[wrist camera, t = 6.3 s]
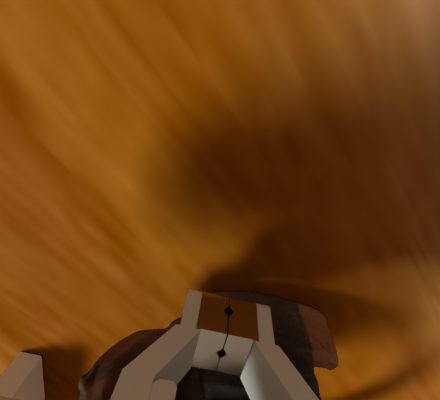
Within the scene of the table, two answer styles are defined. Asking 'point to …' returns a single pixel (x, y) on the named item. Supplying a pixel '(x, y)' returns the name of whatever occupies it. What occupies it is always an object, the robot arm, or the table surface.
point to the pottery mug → (214, 380)
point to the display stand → (23, 378)
